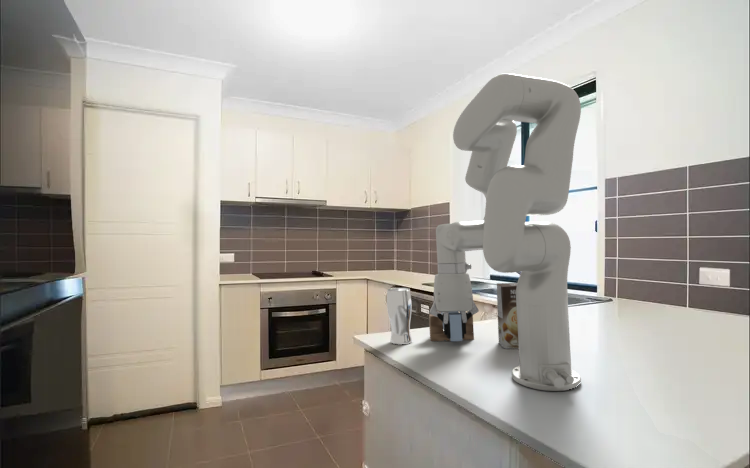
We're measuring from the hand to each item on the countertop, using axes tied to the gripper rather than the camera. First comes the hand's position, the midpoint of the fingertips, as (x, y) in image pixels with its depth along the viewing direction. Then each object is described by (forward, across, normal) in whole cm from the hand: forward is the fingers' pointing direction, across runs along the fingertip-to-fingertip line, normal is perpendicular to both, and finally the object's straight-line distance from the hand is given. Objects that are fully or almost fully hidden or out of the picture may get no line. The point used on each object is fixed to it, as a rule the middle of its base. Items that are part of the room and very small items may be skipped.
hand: (455, 336), depth 105 cm
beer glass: (+2, +14, -5) cm, 16 cm away
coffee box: (+3, -16, +3) cm, 16 cm away
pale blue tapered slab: (+1, 0, -6) cm, 6 cm away
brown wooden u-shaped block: (+2, 0, -6) cm, 6 cm away
